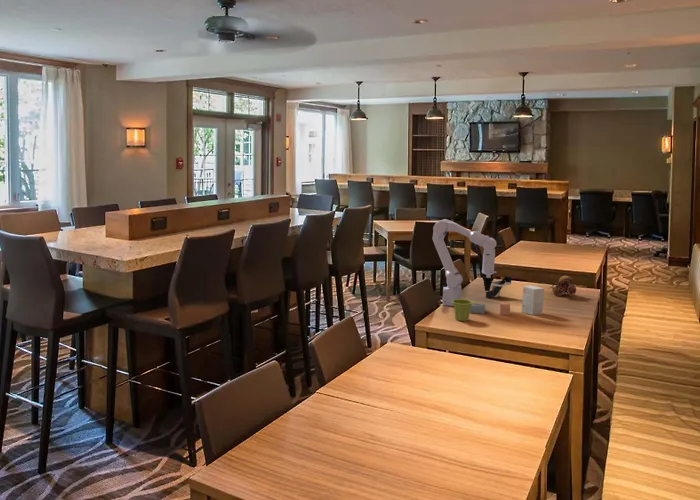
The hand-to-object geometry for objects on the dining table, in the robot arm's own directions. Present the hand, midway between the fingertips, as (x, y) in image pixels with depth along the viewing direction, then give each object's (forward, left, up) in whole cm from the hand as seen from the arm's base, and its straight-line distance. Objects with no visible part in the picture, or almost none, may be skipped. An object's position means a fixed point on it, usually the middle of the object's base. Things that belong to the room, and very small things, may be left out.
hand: (486, 289), depth 307 cm
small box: (+22, -3, -10) cm, 24 cm away
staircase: (+7, +26, -11) cm, 29 cm away
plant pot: (-12, -25, -10) cm, 30 cm away
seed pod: (+44, +43, -10) cm, 62 cm away
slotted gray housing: (-5, -8, -10) cm, 14 cm away
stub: (+9, -8, -10) cm, 15 cm away
